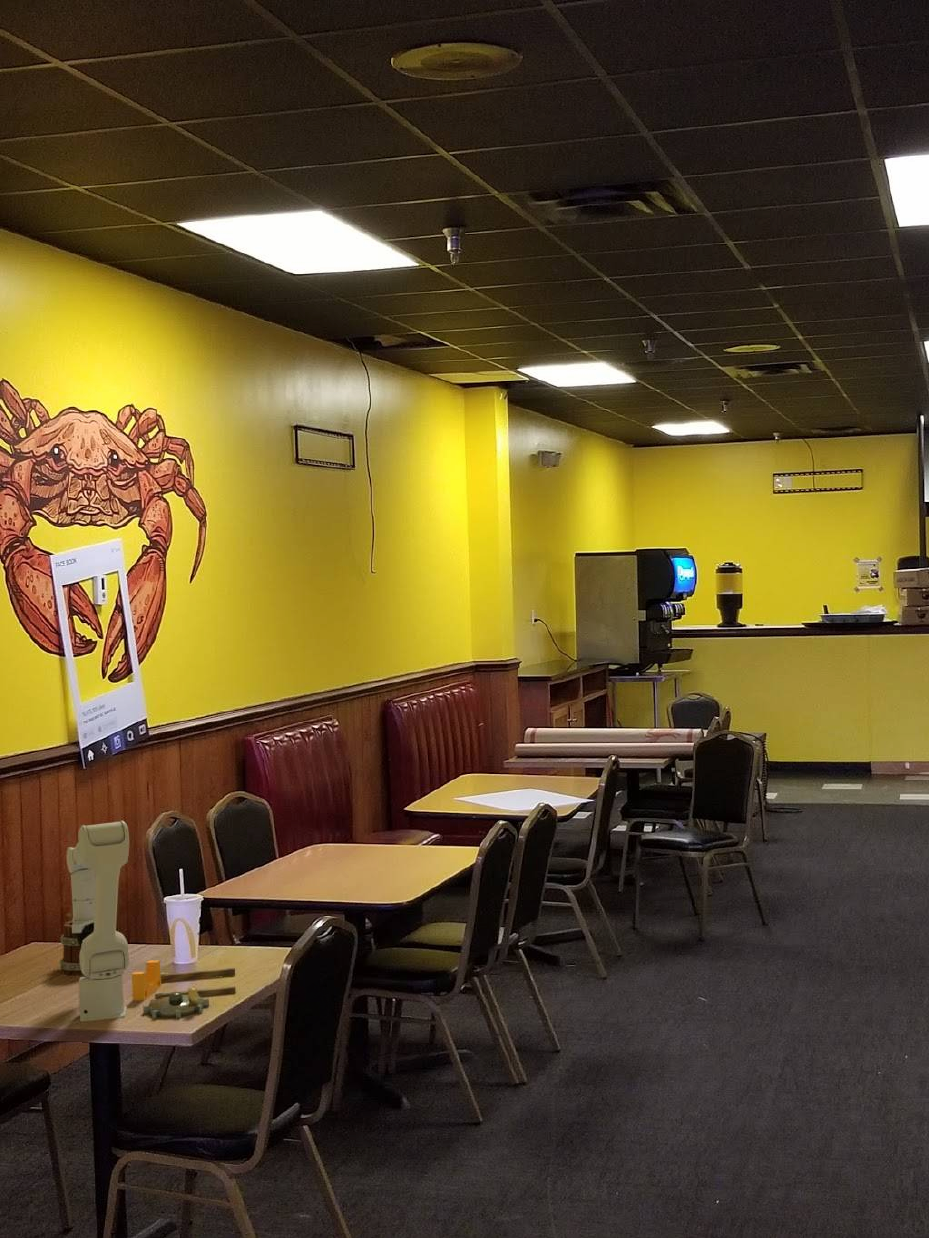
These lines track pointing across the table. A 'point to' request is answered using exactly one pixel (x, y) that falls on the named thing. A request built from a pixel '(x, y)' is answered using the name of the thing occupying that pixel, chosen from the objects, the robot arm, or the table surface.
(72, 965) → the mug
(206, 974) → the guide rails
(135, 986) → the pipe clamp
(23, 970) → the table surface
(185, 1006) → the sprocket
